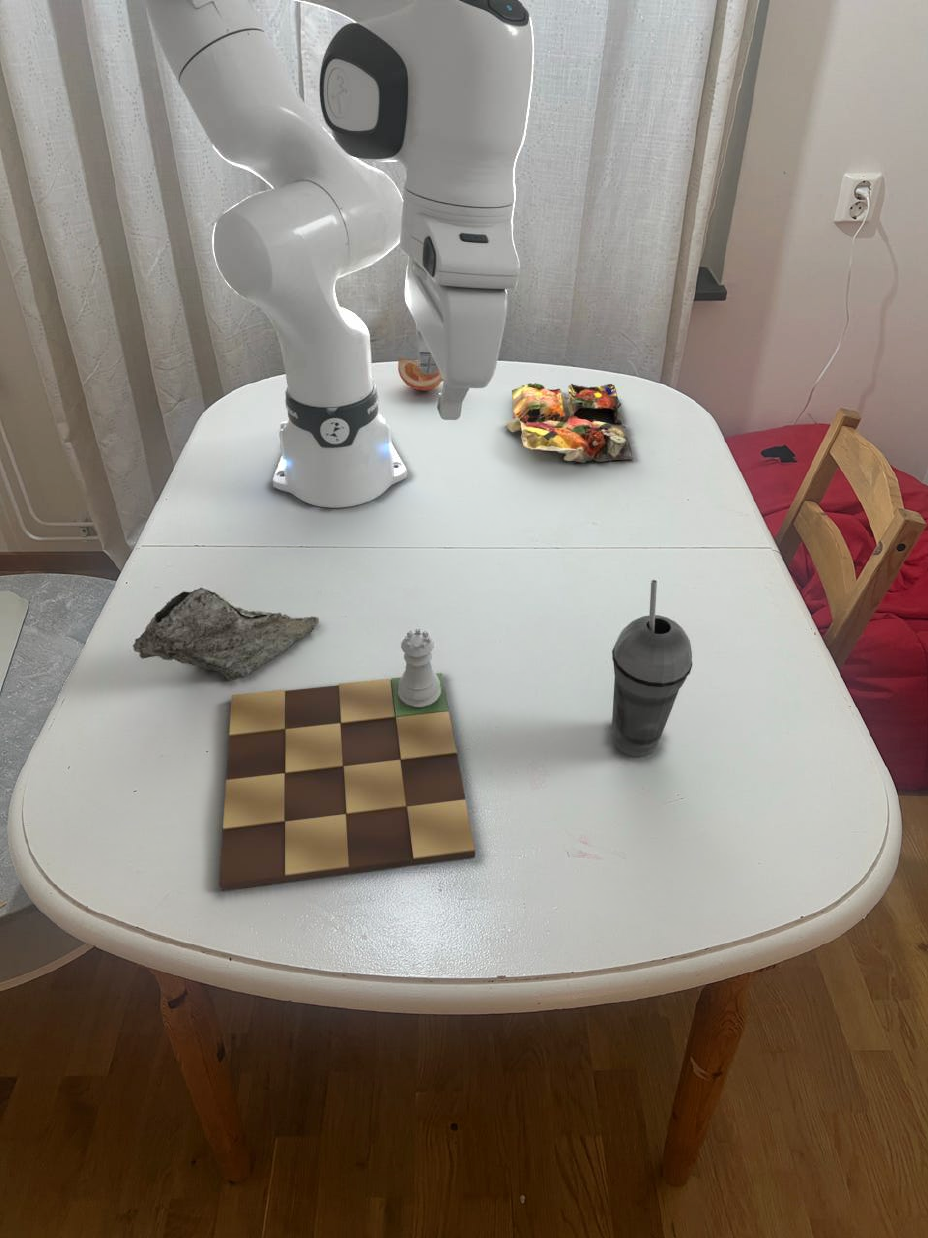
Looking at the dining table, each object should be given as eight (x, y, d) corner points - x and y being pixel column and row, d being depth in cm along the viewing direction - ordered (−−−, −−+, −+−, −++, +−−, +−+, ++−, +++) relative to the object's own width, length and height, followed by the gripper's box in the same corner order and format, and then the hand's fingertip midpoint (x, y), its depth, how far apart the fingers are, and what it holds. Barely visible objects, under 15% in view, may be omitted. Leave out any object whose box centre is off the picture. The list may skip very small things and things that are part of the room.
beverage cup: (654, 780, 82) (692, 626, 68) (585, 748, 85) (609, 594, 71) (682, 730, 86) (723, 577, 73) (616, 702, 89) (644, 550, 76)
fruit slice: (451, 380, 144) (451, 352, 140) (447, 399, 139) (447, 371, 135) (402, 378, 144) (401, 350, 141) (396, 397, 139) (395, 368, 136)
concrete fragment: (327, 633, 97) (316, 556, 90) (171, 717, 87) (145, 639, 80) (296, 605, 100) (284, 529, 93) (143, 683, 91) (116, 606, 83)
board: (233, 702, 89) (231, 694, 88) (442, 680, 91) (442, 672, 91) (221, 891, 73) (218, 883, 72) (475, 857, 75) (475, 850, 74)
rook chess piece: (435, 713, 86) (434, 656, 81) (393, 706, 87) (389, 650, 82) (445, 682, 90) (444, 625, 84) (404, 675, 90) (400, 619, 85)
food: (634, 466, 124) (638, 445, 121) (506, 465, 124) (507, 443, 122) (616, 395, 140) (619, 374, 138) (503, 394, 140) (503, 373, 138)
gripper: (395, 195, 76) (384, 346, 84) (443, 269, 61) (424, 445, 69) (464, 200, 77) (446, 349, 86) (527, 274, 62) (498, 445, 71)
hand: (437, 392), depth 77 cm, fingers open, 8 cm apart
